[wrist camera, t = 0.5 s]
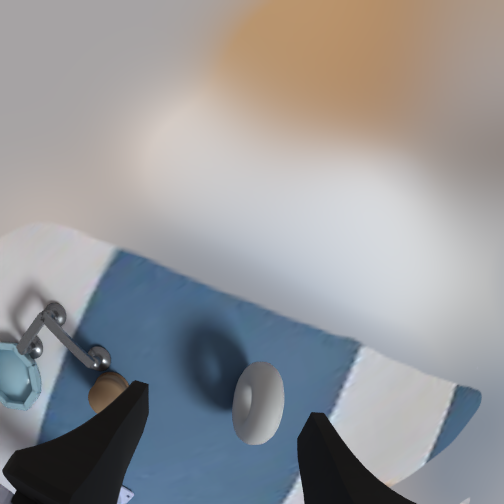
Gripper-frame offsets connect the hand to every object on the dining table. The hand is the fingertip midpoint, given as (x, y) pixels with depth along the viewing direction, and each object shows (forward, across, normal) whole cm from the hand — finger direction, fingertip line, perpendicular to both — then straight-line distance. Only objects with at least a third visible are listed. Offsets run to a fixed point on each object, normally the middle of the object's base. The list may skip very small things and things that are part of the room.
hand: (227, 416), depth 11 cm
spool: (+15, +12, +17) cm, 26 cm away
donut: (+19, -3, +16) cm, 25 cm away
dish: (+11, +26, +18) cm, 33 cm away
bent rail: (+15, +19, +14) cm, 28 cm away
